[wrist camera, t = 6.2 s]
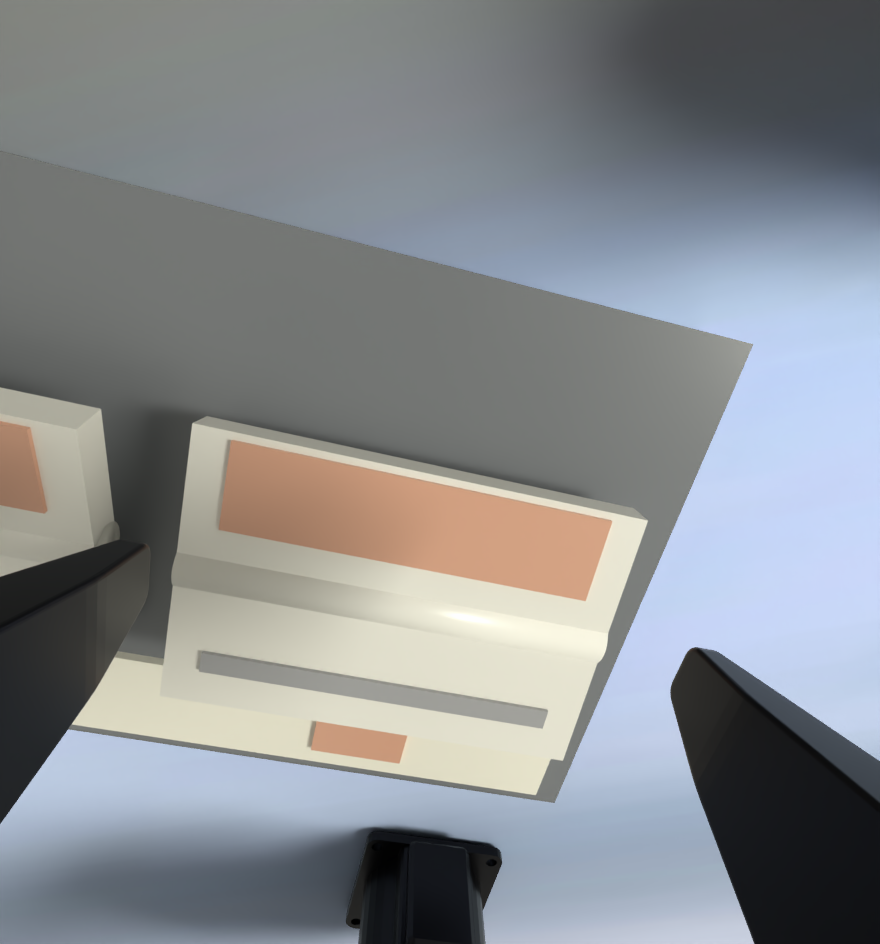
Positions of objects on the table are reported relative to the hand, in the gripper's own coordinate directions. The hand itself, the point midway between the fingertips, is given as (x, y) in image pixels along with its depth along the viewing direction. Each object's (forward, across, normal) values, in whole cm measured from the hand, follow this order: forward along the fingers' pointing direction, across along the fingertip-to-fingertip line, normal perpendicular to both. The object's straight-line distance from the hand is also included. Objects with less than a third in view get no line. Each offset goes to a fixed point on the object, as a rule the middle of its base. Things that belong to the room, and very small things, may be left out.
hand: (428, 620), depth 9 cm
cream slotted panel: (+6, 0, +4) cm, 7 cm away
